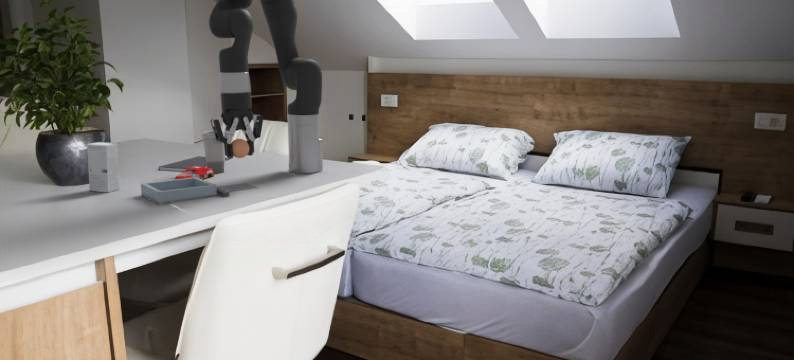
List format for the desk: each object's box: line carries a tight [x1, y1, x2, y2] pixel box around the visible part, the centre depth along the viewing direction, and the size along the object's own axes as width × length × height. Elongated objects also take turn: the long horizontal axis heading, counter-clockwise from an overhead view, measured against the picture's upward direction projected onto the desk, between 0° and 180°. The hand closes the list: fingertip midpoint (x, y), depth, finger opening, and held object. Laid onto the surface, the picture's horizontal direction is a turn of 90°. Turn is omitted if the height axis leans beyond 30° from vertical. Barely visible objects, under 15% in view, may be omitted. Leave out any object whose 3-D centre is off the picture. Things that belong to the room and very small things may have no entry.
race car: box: [174, 166, 215, 181], centre depth 176 cm, size 13×5×4 cm, turn 159°
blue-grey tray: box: [140, 177, 218, 206], centre depth 156 cm, size 14×13×3 cm
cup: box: [201, 130, 226, 175], centre depth 188 cm, size 7×7×12 cm
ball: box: [231, 138, 249, 159], centre depth 164 cm, size 5×5×5 cm
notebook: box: [158, 155, 232, 172], centre depth 201 cm, size 13×2×21 cm
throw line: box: [216, 186, 230, 198], centre depth 162 cm, size 1×18×1 cm, turn 39°
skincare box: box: [86, 141, 120, 193], centre depth 162 cm, size 6×4×12 cm
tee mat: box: [216, 182, 259, 193], centre depth 166 cm, size 8×8×1 cm
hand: (239, 156), depth 165 cm, fingers closed on ball, 5 cm apart
